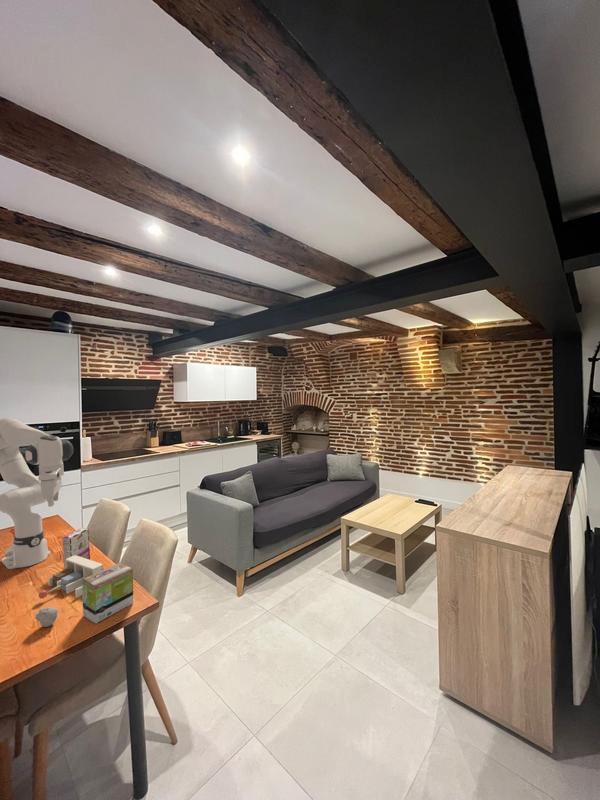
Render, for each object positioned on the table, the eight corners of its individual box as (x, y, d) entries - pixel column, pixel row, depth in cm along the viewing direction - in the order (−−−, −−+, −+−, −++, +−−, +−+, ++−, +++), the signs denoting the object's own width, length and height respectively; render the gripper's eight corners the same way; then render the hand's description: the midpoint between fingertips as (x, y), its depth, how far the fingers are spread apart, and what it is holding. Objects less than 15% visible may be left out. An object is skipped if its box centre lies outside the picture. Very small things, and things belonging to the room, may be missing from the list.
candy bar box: (82, 558, 178) (81, 527, 177) (90, 559, 177) (89, 528, 176) (63, 570, 167) (61, 536, 166) (71, 570, 166) (70, 537, 165)
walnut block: (53, 585, 153) (52, 574, 153) (67, 579, 158) (66, 568, 158) (58, 588, 151) (58, 577, 151) (72, 581, 156) (72, 570, 156)
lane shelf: (48, 585, 153) (47, 566, 153) (75, 573, 163) (75, 555, 163) (76, 597, 143) (75, 577, 143) (103, 583, 154) (103, 564, 154)
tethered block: (36, 602, 141) (35, 590, 141) (75, 582, 155) (75, 571, 155) (42, 604, 139) (41, 592, 139) (81, 584, 153) (81, 573, 153)
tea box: (96, 625, 126) (94, 585, 126) (82, 616, 131) (81, 578, 131) (134, 603, 139) (133, 567, 138) (120, 595, 144) (119, 561, 144)
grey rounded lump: (33, 627, 126) (33, 608, 126) (56, 617, 131) (55, 599, 131) (37, 634, 122) (36, 615, 121) (61, 624, 127) (60, 606, 127)
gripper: (48, 469, 160) (50, 498, 160) (37, 477, 141) (39, 511, 142) (64, 467, 163) (66, 496, 163) (55, 475, 144) (57, 508, 144)
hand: (53, 503), depth 152 cm, fingers open, 8 cm apart
